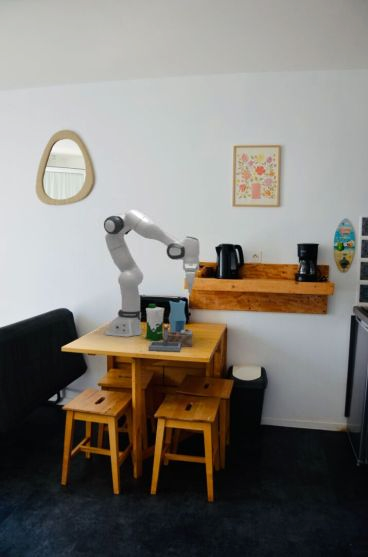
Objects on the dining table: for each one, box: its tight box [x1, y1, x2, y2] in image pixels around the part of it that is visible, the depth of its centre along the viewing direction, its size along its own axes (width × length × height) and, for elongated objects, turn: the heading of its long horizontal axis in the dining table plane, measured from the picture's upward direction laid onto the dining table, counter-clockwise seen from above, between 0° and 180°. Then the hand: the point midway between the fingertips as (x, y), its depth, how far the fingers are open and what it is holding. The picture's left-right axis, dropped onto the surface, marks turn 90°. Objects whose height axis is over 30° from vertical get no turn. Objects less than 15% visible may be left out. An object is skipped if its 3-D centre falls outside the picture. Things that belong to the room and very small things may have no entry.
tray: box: [148, 340, 181, 353], centre depth 216 cm, size 16×10×2 cm, turn 87°
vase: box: [168, 300, 187, 332], centre depth 249 cm, size 8×8×20 cm
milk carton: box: [145, 303, 165, 342], centre depth 236 cm, size 9×9×20 cm
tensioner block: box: [168, 328, 194, 348], centre depth 226 cm, size 16×9×9 cm, turn 87°
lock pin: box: [162, 323, 170, 346], centre depth 216 cm, size 4×4×12 cm
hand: (190, 291), depth 227 cm, fingers open, 8 cm apart
